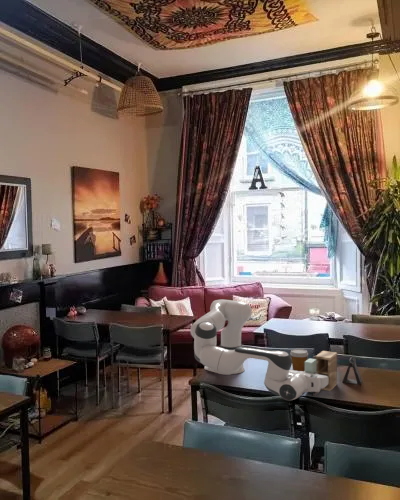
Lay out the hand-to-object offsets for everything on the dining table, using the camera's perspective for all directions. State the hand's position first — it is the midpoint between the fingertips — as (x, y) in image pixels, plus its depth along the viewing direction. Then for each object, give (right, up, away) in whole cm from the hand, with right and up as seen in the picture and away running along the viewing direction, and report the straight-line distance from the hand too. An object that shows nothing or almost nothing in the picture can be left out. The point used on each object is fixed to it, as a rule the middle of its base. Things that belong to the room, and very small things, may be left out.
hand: (311, 373), depth 217 cm
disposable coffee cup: (0, -8, +28) cm, 29 cm away
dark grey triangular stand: (+24, -8, +13) cm, 28 cm away
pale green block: (0, -8, 0) cm, 8 cm away
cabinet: (+5, -9, +4) cm, 10 cm away
